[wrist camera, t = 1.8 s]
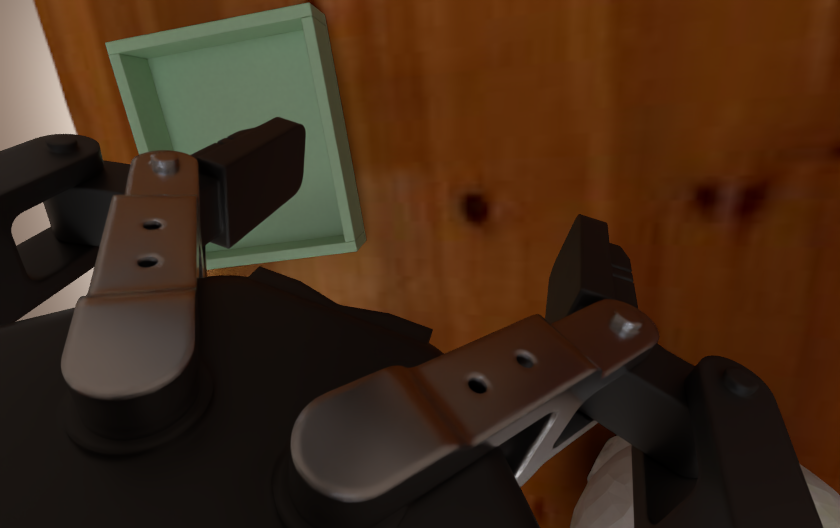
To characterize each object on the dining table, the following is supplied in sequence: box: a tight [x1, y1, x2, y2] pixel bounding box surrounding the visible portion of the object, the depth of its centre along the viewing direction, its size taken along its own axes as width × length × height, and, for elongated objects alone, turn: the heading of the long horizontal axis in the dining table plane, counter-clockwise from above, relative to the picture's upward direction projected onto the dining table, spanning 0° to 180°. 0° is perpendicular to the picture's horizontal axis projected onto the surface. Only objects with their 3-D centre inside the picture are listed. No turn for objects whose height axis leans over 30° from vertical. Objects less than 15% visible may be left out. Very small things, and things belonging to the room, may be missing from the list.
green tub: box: [105, 2, 366, 270], centre depth 34 cm, size 17×15×3 cm
